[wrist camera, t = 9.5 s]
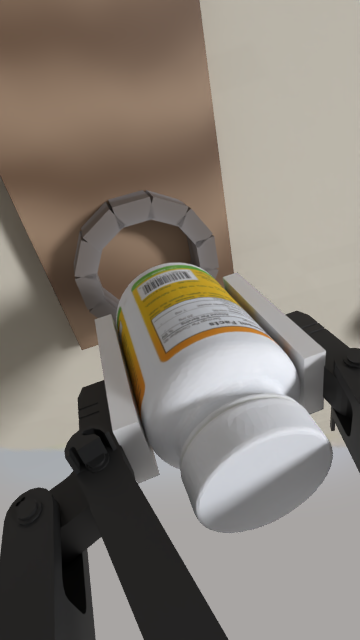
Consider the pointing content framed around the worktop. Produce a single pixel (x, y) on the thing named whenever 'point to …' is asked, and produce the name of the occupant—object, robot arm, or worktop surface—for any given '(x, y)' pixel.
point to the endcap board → (110, 145)
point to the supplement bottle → (218, 399)
